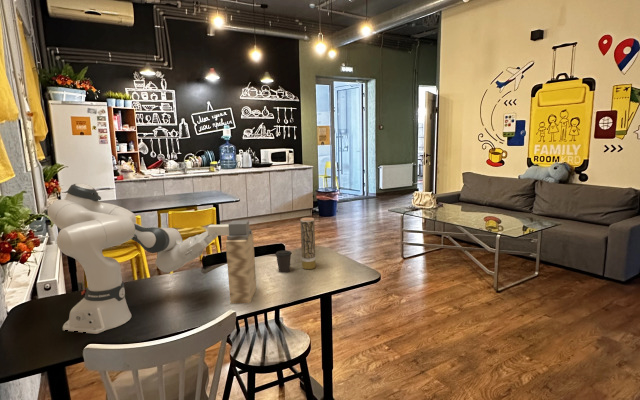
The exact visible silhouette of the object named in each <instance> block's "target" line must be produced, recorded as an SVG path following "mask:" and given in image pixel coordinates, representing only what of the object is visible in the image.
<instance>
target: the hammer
mask: <svg viewBox="0 0 640 400" xmlns="http://www.w3.org/2000/svg"><path fill="white" fill-rule="evenodd" d="M206 228H207V231H208V236H211V235H212V234H214V233H217V235H218V236H236V235H248V236H249V235H250V230H251V229H250V220H232V221H230V222H229V223H228V224H227V223H226V224H225V223H224V224H209V225H208V226H207V227H206Z"/></svg>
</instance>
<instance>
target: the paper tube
mask: <svg viewBox="0 0 640 400" xmlns="http://www.w3.org/2000/svg"><path fill="white" fill-rule="evenodd" d="M315 228H316V227H315V218H314V217H302V218H300V240H301V242H300V243H301V244H300V245H301V248H300V249H301V268H302V269H304V270H313V269H315V268H316V267H317V266H316V263H317V262H316V238H315V237H316V235H315V234H316V233H315V231H316V230H315Z"/></svg>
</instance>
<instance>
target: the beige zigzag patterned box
mask: <svg viewBox="0 0 640 400" xmlns="http://www.w3.org/2000/svg"><path fill="white" fill-rule="evenodd" d="M225 249H226V263H227V275H228V278H227V279H228V290H229V302H230V304H251V302H252V299H253V297H254V296H255V292H256V291H257V280H256V262H255V246H254V232H253V230H252V229H250V235H249V236H248V235H236V236H229V235H226V241H225Z"/></svg>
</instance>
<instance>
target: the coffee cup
mask: <svg viewBox="0 0 640 400" xmlns="http://www.w3.org/2000/svg"><path fill="white" fill-rule="evenodd" d="M275 256H276V261H277V267H278V272H279V273H282V274H284V273H289V272H290V271H291V270H290V269H291V257H292V251H290V250H286V249H285V250H278V251H276V252H275Z"/></svg>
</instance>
